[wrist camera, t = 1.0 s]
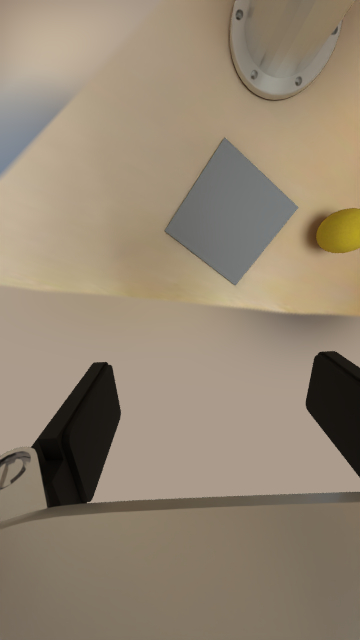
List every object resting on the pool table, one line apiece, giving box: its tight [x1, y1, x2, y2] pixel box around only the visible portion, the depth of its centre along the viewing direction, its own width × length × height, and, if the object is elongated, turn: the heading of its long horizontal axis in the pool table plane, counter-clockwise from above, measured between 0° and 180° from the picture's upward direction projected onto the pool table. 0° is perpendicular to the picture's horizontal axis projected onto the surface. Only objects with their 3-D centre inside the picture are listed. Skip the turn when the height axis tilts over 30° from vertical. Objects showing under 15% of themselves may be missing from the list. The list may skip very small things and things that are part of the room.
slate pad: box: [165, 138, 298, 285], centre depth 31 cm, size 14×14×1 cm
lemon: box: [316, 208, 360, 253], centre depth 28 cm, size 6×6×8 cm
